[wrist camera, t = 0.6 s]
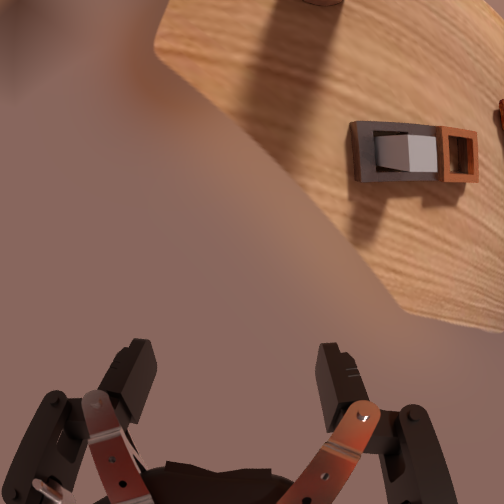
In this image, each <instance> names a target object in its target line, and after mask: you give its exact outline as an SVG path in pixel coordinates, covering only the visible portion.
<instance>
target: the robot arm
mask: <svg viewBox="0 0 504 504" xmlns="http://www.w3.org/2000/svg"><path fill="white" fill-rule="evenodd" d="M303 1H306V2H308V3H311V4H316V5H323V6H328V5H334V4H338V3H339V2H341V1H342V0H303ZM315 369H316V370H315V375H316V381H317V386H318V390H319V396H320V401H321V405H322V410H323V416H324V420H325V426H326V430H327V433H330V432H333V434H332V435H331V437H330V438H329V440H328V441H327V442H325V443H324V445H323V446H322V447H321V449H320V450H319V452H318V453H317V454H316V456H315V457H314V458H313V460H312V461H311V462H310V464H309V465H308V466H307V468H306V469H305V470H304V471H303V472H302V474H301V475H300V476H299V478H298V479H297V480H296V481H295V482H293V481H291V480H289V479H287V478H284V477H282V476H278V475H273V474H271V469H240V470H234V471H227V472H220V473H216V472H212V471H209V470H206V469H203V468H200V467H197V466H194V465H191V464H183V463H177V462H170V461H166V466H165V467H157V468H153V469H150V470H149V468H148V467H147V465H146V464H145V462H144V461H143V459H142V457H141V455H140V453H139V451H138V449H137V447H136V445H135V443H134V441H133V438H132V436H131V434H130V432H129V430H128V425H129V423H134V424H138V422H139V419H140V416H141V413H142V410H143V408H144V405H145V402H146V400H147V397H148V394H149V391H150V389H151V386H152V383H153V381H154V378H155V376H156V372H157V362H156V359H155V355H154V352H153V349H152V345H151V342H150V341H149V340H147V339H137V338H134V339H133V340H132V342H131V344H130V346H129V348H127V347H124V348H123V349H122V350H121V351H119V353H117V355H116V357H115V358H114V360H113V362H112V364H111V365H110V368H109V369H108V371H107V373H106V374H105V376H104V378H103V380H102V382H101V384H100V385H99V387H98V389H97V390H92V391H90V392H88V393H86V394H85V395H84V397H83V398H72V399H71V398H70V399H69V398H67V397H66V395H65V394H64V393H63V392H62V391H59V390H55V391H51V392H49V393H48V394H46V396H45V397H44V398H43V400H42V402H41V404H40V406H39V408H38V409H37V411H36V413H35V415H34V417H33V419H32V421H31V423H30V425H29V427H28V429H27V431H26V433H25V435H24V437H23V439H22V441H21V443H20V445H19V448H18V450H17V452H16V454H15V457H14V459H13V461H12V464H11V466H10V468H9V471H8V474H7V476H6V479H5V481H4V484H3V487H2V497H3V500H4V501H5V503H6V504H76V500H75V498H74V496H73V494H72V491H73V488H74V484H75V481H76V478H77V474H78V471H79V468H80V465H81V462H82V459H83V456H84V453H85V450H86V447H87V444H88V445H89V448H90V451H91V454H92V457H93V460H94V463H95V466H96V469H97V471H98V474H99V476H100V479H101V481H102V484H103V486H104V489H105V491H106V493H107V496H106V497H104V498H102V499H100V500H99V501H97V502H95V503H94V504H332V502H333V501H334V500H335V498H336V497H337V495H338V494H339V492H340V491H341V489H342V488H343V486H344V485H345V483H346V481H347V480H348V478H349V477H350V475H351V473H352V472H353V470H354V468H355V467H356V465H357V463H358V461H359V460H360V458H361V454H362V453H370V454H379V459H380V463H381V468H382V473H383V478H384V483H385V489H386V495H387V501H388V504H458V503H457V498H456V495H455V491H454V487H453V484H452V481H451V477H450V474H449V471H448V468H447V465H446V461H445V458H444V456H443V453H442V450H441V447H440V444H439V441H438V439H437V436H436V433H435V431H434V428H433V425H432V423H431V421H430V418H429V416H428V413H427V411H426V410H425V409H424V408H423V407H421V406H419V405H415V404H411V405H407V406H405V407H403V408H402V409H401V411H400V412H396V411H385V410H381V409H379V408H378V406H377V405H376V404H374V403H373V402H370V400H369V398H368V395H367V392H366V389H365V387H364V384H363V381H362V379H361V376H360V373H359V371H358V369H357V366H356V364H355V360H354V359H353V358H352V357H351V356H350V355H349V354H348V353H347V352H345V353H340V350H339V348H338V345H337V343H321V344H320V346H319V351H318V356H317V362H316V368H315ZM61 431H62V433H61ZM60 434H61V435H60ZM59 436H60V437H59ZM58 438H59V440H58ZM57 441H58V442H57ZM56 444H57V445H56Z"/></svg>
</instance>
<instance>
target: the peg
mask: <svg viewBox="0 0 504 504" xmlns="http://www.w3.org/2000/svg"><path fill="white" fill-rule="evenodd" d="M373 138H374V149H375V163H376V166H381V167H387V168H393V169H398V170H403V171H408V172H437V152H436V137H430V136H419V135H392V136H377V137H373Z"/></svg>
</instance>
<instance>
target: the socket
mask: <svg viewBox="0 0 504 504" xmlns="http://www.w3.org/2000/svg"><path fill="white" fill-rule="evenodd" d="M350 128H351V137H352V148H353V160H354V175H355V180H356V181H359V182H382V181H442V182H471V183H478V177H479V171H478V143H477V132H475V131H470V130H464V129H458V128H452V127H445V126H429V125H420V124H409V123H396V122H377V121H354V122H351V123H350ZM373 131H377V132H400V135H419V136H430V137H436V152H437V172H408V171H403V170H394V171H376V163H375V149H374V138H373ZM448 137H454V138H457V141H458V161H459V172H457V171H450V157H449V140H448Z"/></svg>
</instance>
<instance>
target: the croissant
mask: <svg viewBox="0 0 504 504" xmlns="http://www.w3.org/2000/svg"><path fill="white" fill-rule="evenodd" d="M499 109H500V113H501V122H502V127H503V130H504V99H502V100H500V102H499Z"/></svg>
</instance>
